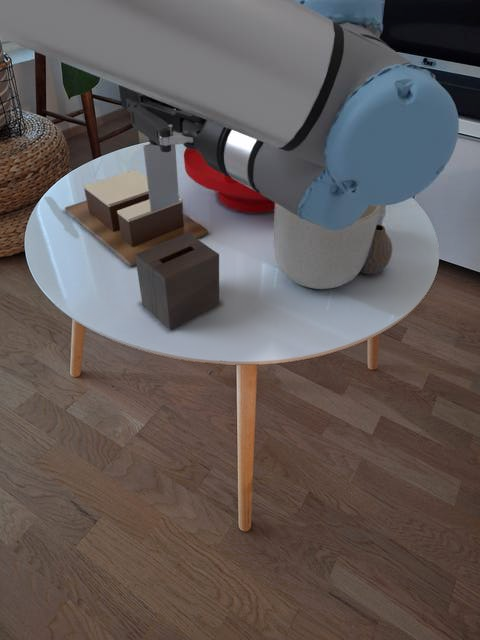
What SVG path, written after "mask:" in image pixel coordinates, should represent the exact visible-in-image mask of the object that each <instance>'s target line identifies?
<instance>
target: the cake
mask: <svg viewBox="0 0 480 640" xmlns="http://www.w3.org/2000/svg"><path fill="white" fill-rule="evenodd" d="M83 189H84V195H85V201H86V200H87V204H88V209H89V212H90V213H91V214H92V215H93V216H95V217H96V218H97V219H98V220H100V221H101V222H102V223H103V224H104V225H106V226H107V227H108V228H109V229H111V230H112V231H113V232H115V231H117V230H120V225H119V219H118V213H117V211H118V210H121V209H123V208H126V207H129V206H132V205H135V204H138V203H141V202H143V201H146V200H149V192H148V183H147V175H144V174H143V173H141V172H140V171H138V170H136V169H132V170H128V171H126V172H122V173H119V174H116V175H113V176H109V177H107V178H104V179H99V180H97V181H94V182H90V183H86V184H83Z"/></svg>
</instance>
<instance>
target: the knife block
mask: <svg viewBox="0 0 480 640" xmlns="http://www.w3.org/2000/svg"><path fill="white" fill-rule="evenodd" d="M135 258H136V265H135V266H136V272H137V278H138V285H139V290H140V291H139V292H140V296H141V304H142V306H143V307H144V308H145V309H146V310H147V311H149V312H150V314H152V315H153V316H154V317H155V318H156V319H157V320H158V321H160V322H161V323H162V324H163V325H164V327H166V328H167V329H168V330H173V329H175V328H177V327H179V326H181V325H182V324H184V323H186V322H188V321H190V320H192V319H194V318H196V317H197V316H199V315H201V314H203V313H205V312H207V311H209V310H210V309H213V308H215V307H217V306H218V305H220V253H218V252H217V251H215V250H214V249H212V248H211V247H210V246H208V245H206V243H204V242H202V241H201V240H200V239H199V238H198V239H197V238H195V237H194V236H192V235H191V234H189V233H186V234H183V235H181V236H178V237H176V238H174V239H171V240H169V241H166V242H164V243H162V244H159V245H157V246H154V247H152V248H150V249H147V250H145V251H142V252H140V253H137V254H135Z"/></svg>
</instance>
